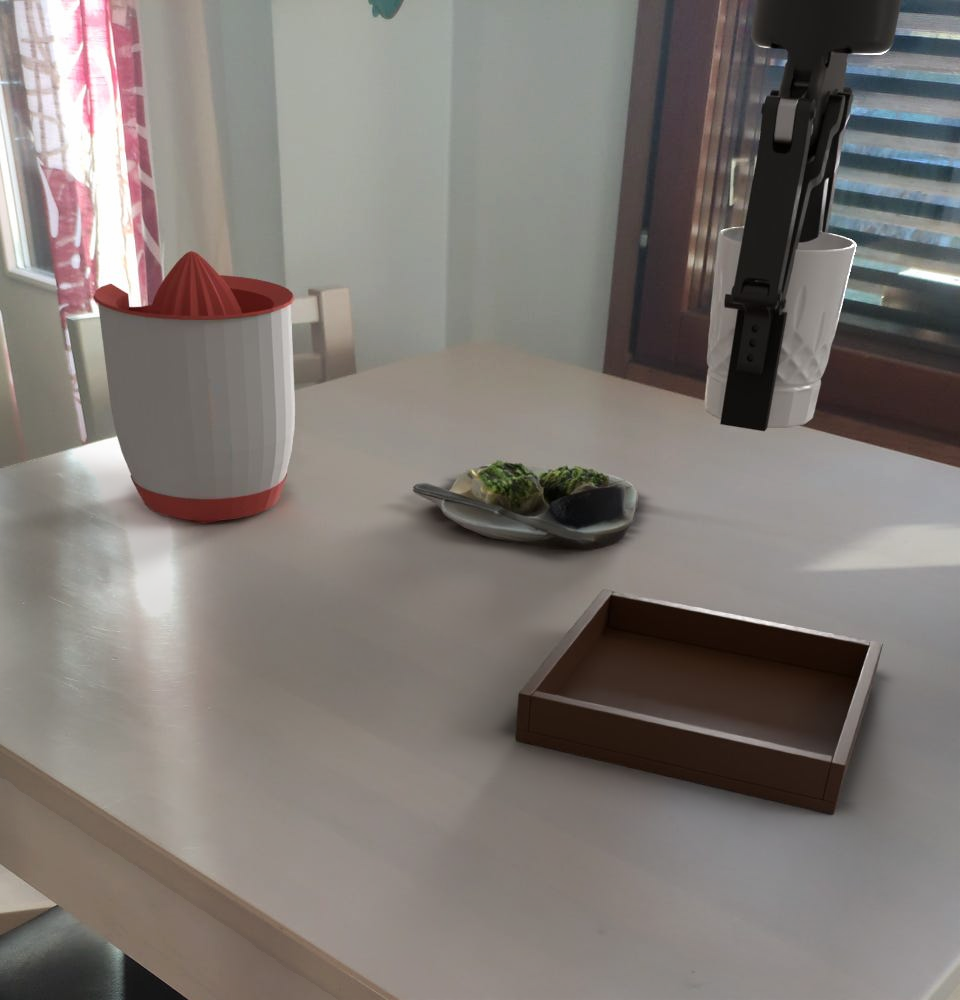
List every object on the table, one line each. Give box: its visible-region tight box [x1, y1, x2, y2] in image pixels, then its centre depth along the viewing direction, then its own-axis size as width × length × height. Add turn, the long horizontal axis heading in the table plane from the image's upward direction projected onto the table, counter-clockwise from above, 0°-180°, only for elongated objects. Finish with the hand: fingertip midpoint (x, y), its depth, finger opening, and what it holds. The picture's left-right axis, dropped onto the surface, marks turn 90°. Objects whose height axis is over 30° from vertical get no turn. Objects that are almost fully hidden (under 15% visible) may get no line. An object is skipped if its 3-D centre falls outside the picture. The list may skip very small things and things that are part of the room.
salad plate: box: [412, 460, 639, 551], centre depth 109 cm, size 19×18×5 cm
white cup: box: [703, 226, 857, 429], centre depth 76 cm, size 8×8×10 cm
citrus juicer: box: [93, 250, 296, 525], centre depth 104 cm, size 16×17×20 cm
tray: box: [514, 588, 884, 815], centre depth 81 cm, size 20×18×3 cm
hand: (758, 408), depth 78 cm, fingers closed on white cup, 7 cm apart
